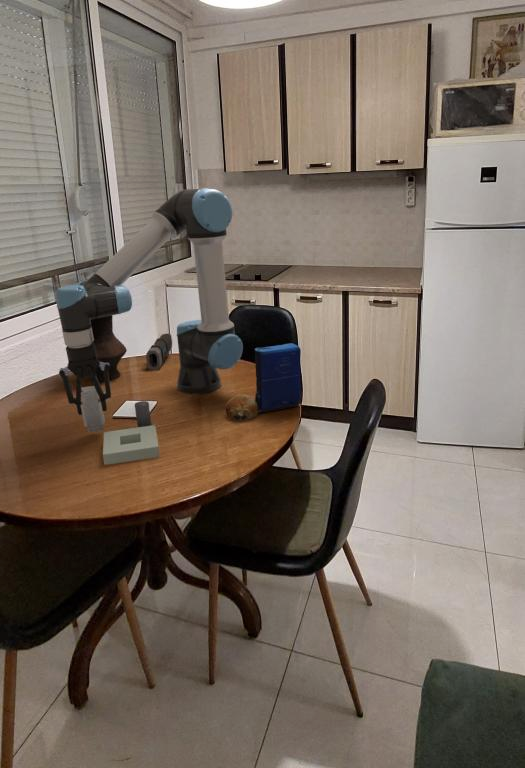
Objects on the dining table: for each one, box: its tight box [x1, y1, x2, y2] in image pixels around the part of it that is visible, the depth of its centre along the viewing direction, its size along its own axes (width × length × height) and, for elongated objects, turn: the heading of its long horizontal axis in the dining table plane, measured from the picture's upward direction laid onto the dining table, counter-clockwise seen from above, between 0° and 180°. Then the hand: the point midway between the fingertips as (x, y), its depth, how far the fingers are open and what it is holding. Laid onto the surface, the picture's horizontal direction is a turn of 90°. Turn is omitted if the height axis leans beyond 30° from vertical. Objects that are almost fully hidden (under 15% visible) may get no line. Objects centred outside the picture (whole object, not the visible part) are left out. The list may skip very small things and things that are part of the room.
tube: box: [145, 333, 173, 372], centre depth 224 cm, size 11×7×30 cm
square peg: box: [81, 385, 104, 433], centre depth 156 cm, size 4×4×12 cm
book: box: [254, 343, 302, 413], centre depth 168 cm, size 14×5×20 cm, turn 112°
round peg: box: [134, 400, 152, 428], centre depth 160 cm, size 4×4×8 cm
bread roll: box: [225, 393, 259, 422], centre depth 167 cm, size 10×10×8 cm
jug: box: [89, 315, 128, 382], centre depth 201 cm, size 21×18×30 cm
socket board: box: [102, 424, 161, 466], centre depth 149 cm, size 14×14×3 cm
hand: (94, 422), depth 157 cm, fingers closed on square peg, 4 cm apart
